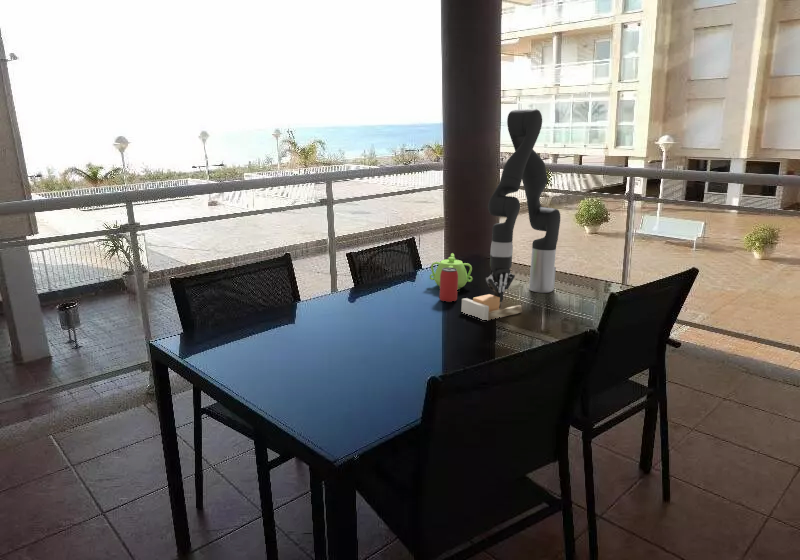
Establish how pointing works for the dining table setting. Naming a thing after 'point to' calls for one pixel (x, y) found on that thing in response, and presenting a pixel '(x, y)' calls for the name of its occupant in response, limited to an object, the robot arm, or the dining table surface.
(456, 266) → the green sugar bowl
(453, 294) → the beer can
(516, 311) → the guide lane
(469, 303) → the stop block
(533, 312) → the dining table surface
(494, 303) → the block
